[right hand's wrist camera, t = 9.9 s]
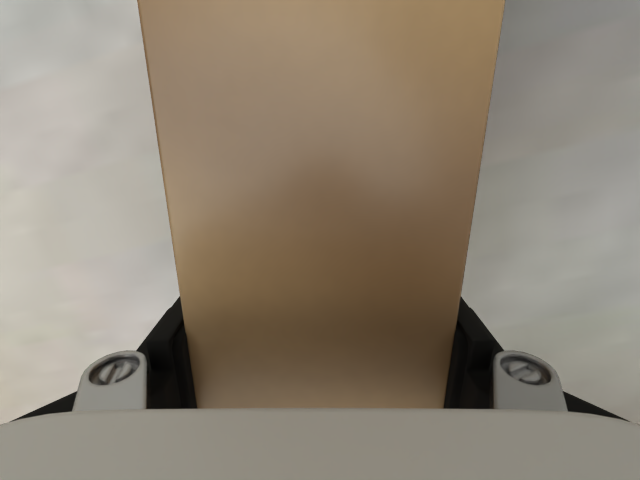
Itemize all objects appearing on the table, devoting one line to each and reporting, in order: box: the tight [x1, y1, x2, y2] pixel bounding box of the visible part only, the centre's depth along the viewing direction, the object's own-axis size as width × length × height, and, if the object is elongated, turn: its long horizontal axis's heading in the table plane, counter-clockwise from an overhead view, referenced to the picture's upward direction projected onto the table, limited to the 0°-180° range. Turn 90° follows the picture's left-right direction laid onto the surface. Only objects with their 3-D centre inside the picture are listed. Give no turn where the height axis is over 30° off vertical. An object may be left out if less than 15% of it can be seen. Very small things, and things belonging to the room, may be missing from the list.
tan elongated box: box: [137, 0, 505, 409], centre depth 12 cm, size 20×6×11 cm, turn 0°
